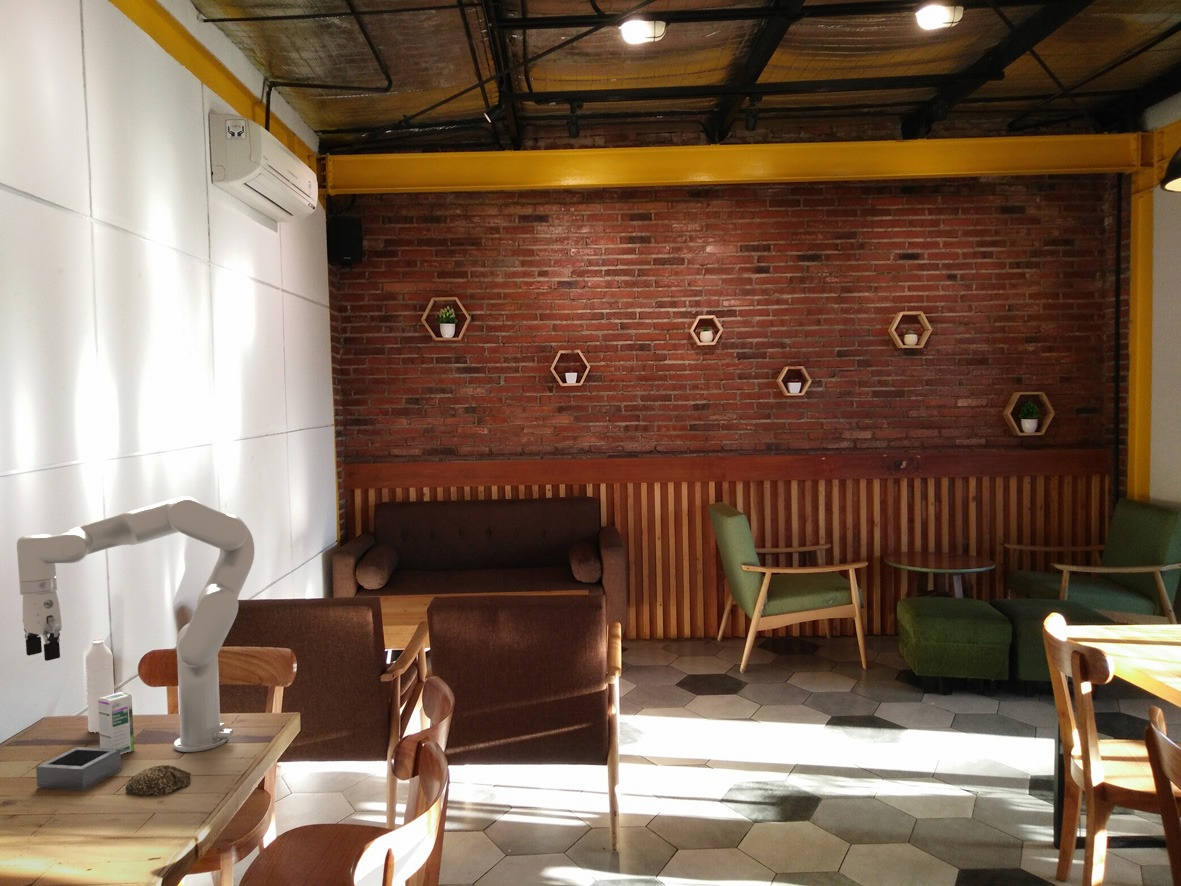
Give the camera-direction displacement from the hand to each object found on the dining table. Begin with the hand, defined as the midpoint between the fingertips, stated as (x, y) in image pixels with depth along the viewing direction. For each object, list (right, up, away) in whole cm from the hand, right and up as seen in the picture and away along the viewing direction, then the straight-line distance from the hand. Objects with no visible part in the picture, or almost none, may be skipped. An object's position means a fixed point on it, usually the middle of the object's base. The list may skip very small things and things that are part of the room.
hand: (43, 656), depth 209 cm
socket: (+12, -27, -5) cm, 30 cm away
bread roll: (+34, -28, -10) cm, 45 cm away
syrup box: (+12, -27, +11) cm, 32 cm away
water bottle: (-1, -27, +27) cm, 39 cm away
